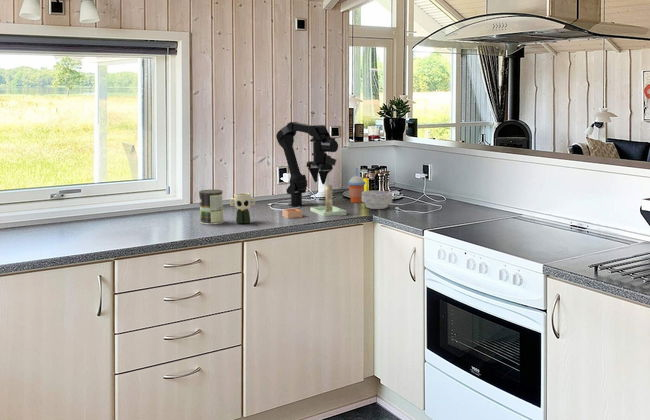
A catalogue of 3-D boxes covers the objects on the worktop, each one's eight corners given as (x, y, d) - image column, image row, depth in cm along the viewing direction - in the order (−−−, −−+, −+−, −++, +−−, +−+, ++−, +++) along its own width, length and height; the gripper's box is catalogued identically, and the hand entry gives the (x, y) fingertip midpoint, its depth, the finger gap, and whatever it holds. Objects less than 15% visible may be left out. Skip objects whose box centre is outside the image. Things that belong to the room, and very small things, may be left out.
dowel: (324, 212, 298) (324, 185, 296) (327, 211, 301) (327, 184, 298) (330, 213, 297) (330, 186, 294) (333, 212, 299) (333, 185, 297)
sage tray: (310, 211, 304) (310, 207, 304) (332, 209, 309) (332, 205, 309) (323, 217, 290) (323, 212, 290) (346, 215, 295) (346, 210, 295)
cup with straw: (365, 200, 335) (365, 166, 332) (365, 203, 326) (365, 168, 323) (348, 200, 336) (348, 166, 333) (347, 203, 327) (347, 168, 324)
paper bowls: (392, 205, 320) (392, 189, 319) (392, 210, 306) (392, 194, 304) (362, 205, 322) (362, 189, 320) (360, 210, 307) (361, 194, 306)
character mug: (230, 225, 275) (229, 195, 272) (230, 222, 282) (229, 193, 279) (256, 224, 276) (255, 194, 274) (255, 221, 283) (254, 192, 281)
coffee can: (199, 225, 276) (197, 193, 273) (201, 220, 286) (200, 189, 283) (222, 224, 277) (221, 192, 274) (224, 219, 287) (223, 189, 284)
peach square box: (282, 217, 292) (282, 209, 291) (296, 215, 295) (296, 208, 294) (287, 219, 286) (287, 212, 285) (302, 218, 289) (302, 210, 288)
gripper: (342, 151, 301) (342, 184, 303) (326, 149, 317) (326, 179, 320) (321, 152, 296) (321, 185, 299) (305, 150, 313) (306, 181, 316)
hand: (319, 183), depth 309 cm, fingers open, 9 cm apart
